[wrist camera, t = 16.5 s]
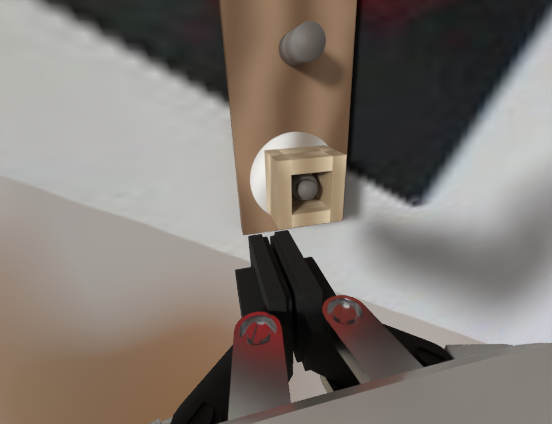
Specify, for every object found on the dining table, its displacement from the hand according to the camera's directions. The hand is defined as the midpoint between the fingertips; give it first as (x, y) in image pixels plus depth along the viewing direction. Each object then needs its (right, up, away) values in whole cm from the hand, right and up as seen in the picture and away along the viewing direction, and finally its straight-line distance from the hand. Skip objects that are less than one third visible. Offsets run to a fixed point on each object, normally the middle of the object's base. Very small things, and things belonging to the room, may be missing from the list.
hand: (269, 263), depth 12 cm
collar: (+2, +6, +18) cm, 19 cm away
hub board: (+2, +12, +17) cm, 21 cm away
